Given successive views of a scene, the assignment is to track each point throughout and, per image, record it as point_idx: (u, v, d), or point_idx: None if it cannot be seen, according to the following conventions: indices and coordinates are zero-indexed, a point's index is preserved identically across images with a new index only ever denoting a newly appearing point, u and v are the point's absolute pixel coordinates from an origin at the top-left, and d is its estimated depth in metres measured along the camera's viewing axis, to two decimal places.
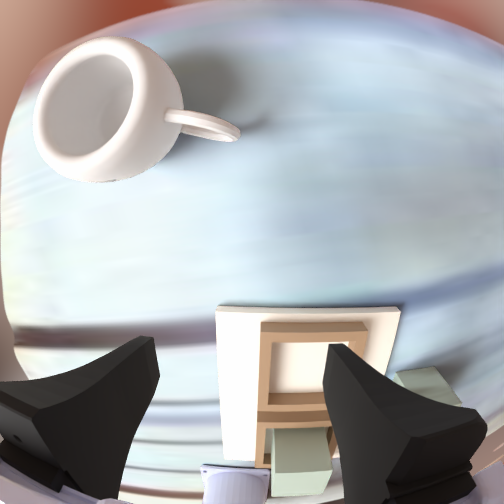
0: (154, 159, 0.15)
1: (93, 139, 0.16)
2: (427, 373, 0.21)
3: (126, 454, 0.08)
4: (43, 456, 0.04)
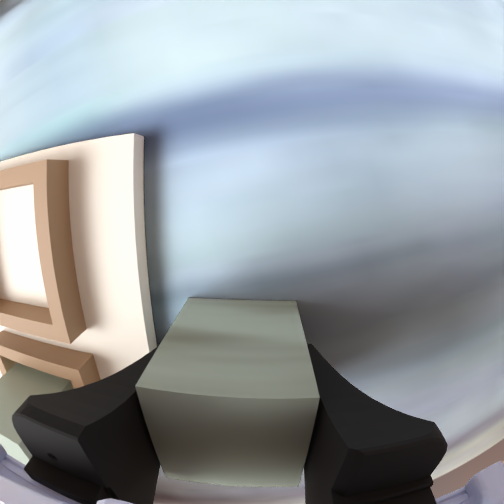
0: None
1: None
2: (262, 310, 0.11)
3: None
4: (84, 474, 0.04)
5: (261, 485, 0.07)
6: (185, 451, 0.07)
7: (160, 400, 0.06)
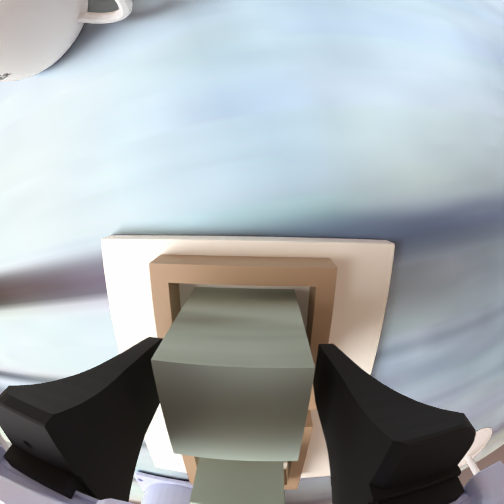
0: (33, 39, 0.07)
1: None
2: (263, 297, 0.12)
3: (136, 456, 0.08)
4: (55, 462, 0.04)
5: (263, 459, 0.08)
6: (193, 424, 0.08)
7: (173, 372, 0.07)
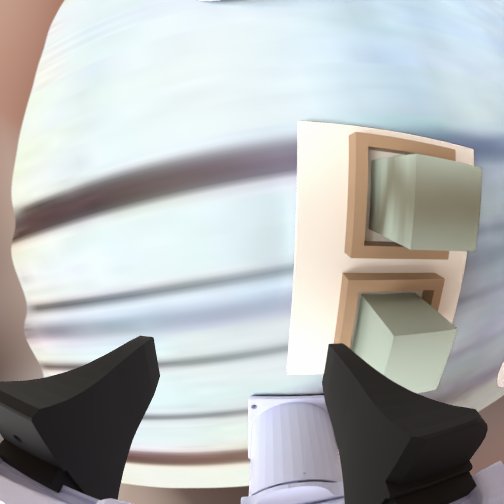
0: None
1: None
2: None
3: (126, 454, 0.08)
4: (43, 456, 0.04)
5: (460, 248, 0.12)
6: (430, 209, 0.12)
7: (426, 163, 0.11)
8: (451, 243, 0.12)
